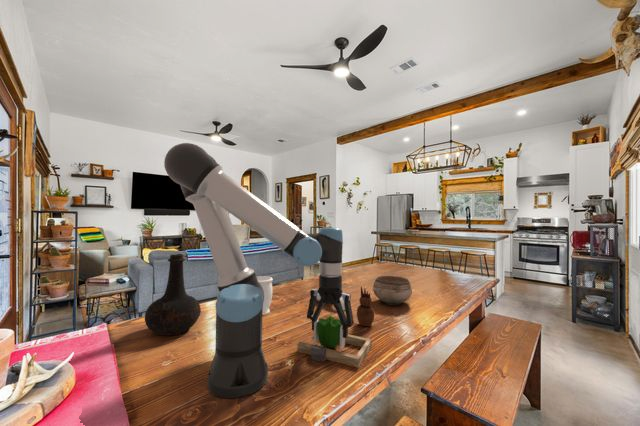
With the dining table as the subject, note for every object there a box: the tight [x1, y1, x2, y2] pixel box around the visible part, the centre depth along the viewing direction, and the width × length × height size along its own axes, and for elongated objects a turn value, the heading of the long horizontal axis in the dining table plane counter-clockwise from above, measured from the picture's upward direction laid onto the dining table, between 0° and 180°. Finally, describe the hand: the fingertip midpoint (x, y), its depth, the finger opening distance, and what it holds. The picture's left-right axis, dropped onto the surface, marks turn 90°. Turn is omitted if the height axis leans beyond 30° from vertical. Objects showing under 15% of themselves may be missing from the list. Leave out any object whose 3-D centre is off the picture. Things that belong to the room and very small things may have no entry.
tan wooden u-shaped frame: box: [296, 333, 373, 369], centre depth 89 cm, size 18×20×4 cm
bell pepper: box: [317, 314, 342, 349], centre depth 90 cm, size 8×8×10 cm
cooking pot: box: [372, 274, 413, 306], centre depth 137 cm, size 25×19×12 cm
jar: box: [256, 275, 274, 316], centre depth 121 cm, size 11×10×15 cm
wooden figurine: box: [356, 286, 375, 327], centre depth 109 cm, size 7×6×15 cm
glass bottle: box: [144, 253, 202, 336], centre depth 101 cm, size 18×18×28 cm
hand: (329, 343), depth 90 cm, fingers closed on bell pepper, 8 cm apart
